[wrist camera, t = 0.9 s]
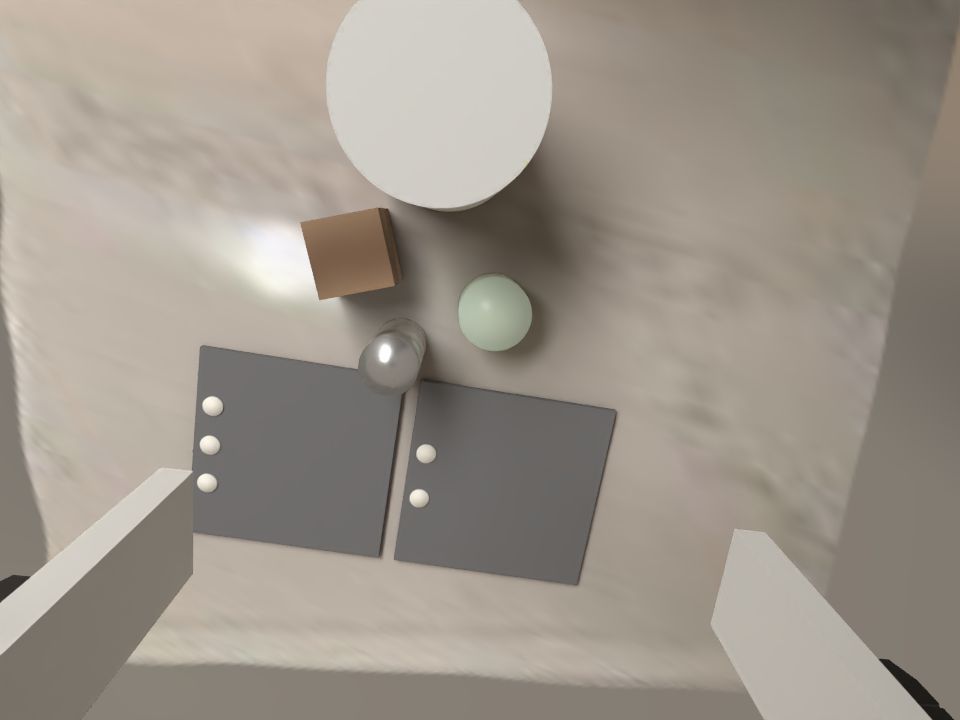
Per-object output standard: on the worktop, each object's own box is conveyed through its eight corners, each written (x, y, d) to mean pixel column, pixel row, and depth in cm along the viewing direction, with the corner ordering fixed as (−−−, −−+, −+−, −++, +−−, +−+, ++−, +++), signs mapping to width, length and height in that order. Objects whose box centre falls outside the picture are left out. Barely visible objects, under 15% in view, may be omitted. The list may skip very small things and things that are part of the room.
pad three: (203, 345, 36) (199, 347, 35) (404, 376, 37) (403, 379, 36) (190, 528, 39) (187, 532, 38) (379, 554, 39) (378, 558, 39)
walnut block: (319, 222, 35) (300, 222, 31) (388, 208, 34) (377, 207, 31) (335, 291, 35) (319, 300, 32) (402, 278, 35) (394, 285, 31)
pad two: (421, 379, 37) (420, 381, 36) (614, 409, 37) (616, 412, 37) (394, 556, 39) (393, 560, 39) (575, 581, 40) (576, 585, 40)
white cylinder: (393, 224, 35) (355, 227, 23) (359, 72, 33) (300, -9, 21) (533, 196, 34) (568, 185, 23) (508, 42, 33) (531, -57, 21)
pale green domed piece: (464, 268, 35) (464, 272, 32) (531, 278, 36) (538, 284, 33) (453, 335, 36) (453, 345, 33) (519, 345, 36) (524, 356, 33)
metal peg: (379, 314, 36) (362, 333, 30) (429, 322, 36) (422, 343, 30) (372, 363, 36) (355, 391, 31) (422, 371, 37) (414, 400, 31)
